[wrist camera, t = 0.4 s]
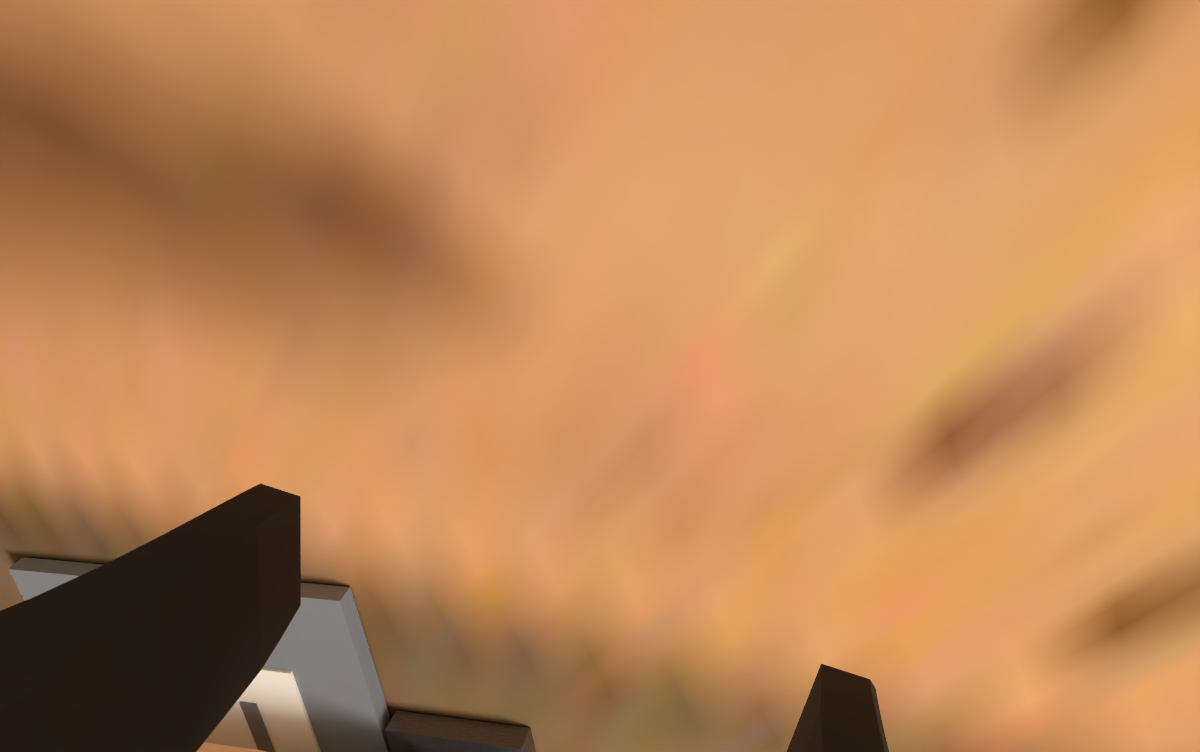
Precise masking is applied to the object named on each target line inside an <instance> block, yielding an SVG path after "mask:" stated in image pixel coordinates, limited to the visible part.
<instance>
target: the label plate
mask: <svg viewBox="0 0 1200 752" xmlns="http://www.w3.org/2000/svg"><path fill="white" fill-rule="evenodd" d="M100 566H102V564H91V563H80V562H69V561H58V560H47V559H37V558H26V557H22V558H21V559H20V560H19V561H17V562H16V563H15V564H14V565H13V566H11V567H10V568H9V571H10V573H11V575H12V577H13V579H14V581H15V583H16V585H17V587H18V589H19V591H20V593H21V595H22V597H23V599H24V601H26V600H28V599H31V598H33V597H35V596H38V595H40V594H42V593H44V592H46V591H48V590H51V589H53V588H55V587H57V586H59V585H61V584H63V583H66V582H68V581H70V580H72V579H74V578H76V577H79V576H81V575H83V574H85V573H87V572H89V571H92V570H94V569H96V568H98V567H100ZM390 721H391V718H390V714H389V711H388V708H387V705H386V701H385V698H384V695H383V692H382V689H381V685H380V682H379V679H378V676H377V672H376V669H375V666H374V663H373V659H372V656H371V653H370V650H369V646H368V643H367V640H366V637H365V633H364V630H363V627H362V624H361V621H360V617H359V614H358V611H357V608H356V604H355V601H354V598H353V595H352V591H351V588H350V587H343V586H333V585H322V584H311V583H301V605H300V607H299V609H298V610H297V612H296V614H295V616H294V617H293V619H292V621H291V622H290V624H289V626H288V627H287V629H286V631H285V633H284V634H283V636H282V638H281V639H280V641H279V643H278V644H277V646H276V647H275V649H274V650H273V652H272V654H271V655H270V657H269V658H268V660H267V662H266V663H265V665H264V666H263V668H262V669H261V671H260V672H259V673H258V675H257V676H256V677H255V679H254V680H253V681H252V682H251V684H250V685H249V686H248V688H247V689H246V690H245V691H244V693H243V694H242V695H241V696H240V698H239V699H238V700H237V701H236V703H235V704H234V705H233V707H232V708H231V709H230V710H229V712H228V713H227V714H226V715H225V717H224V718H223V719H222V720H221V722H220V723H219V724H218V725H217V727H216V728H215V729H214V730H213V732H212V733H211V734H210V735H209V737H208V738H207V739H206V740H205V742H208V743H214V744H221V745H227V746H234V747H241V748H247V749H254V750H260V751H267V752H391V748H390V745H389V742H388V739H387V736H386V733H385V729H386V727H387V726H388V724H389V722H390Z"/></svg>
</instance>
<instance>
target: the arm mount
mask: <svg viewBox="0 0 1200 752" xmlns="http://www.w3.org/2000/svg"><path fill="white" fill-rule="evenodd" d="M385 733H386V736H387V739H388V742H389V745H390V748H391V752H535V747H534V743H533V738H532V734H531V729H530V728H528V727H520V726H513V725H505V724H498V723H490V722H482V721H475V720H467V719H459V718H452V717H444V716H437V715H429V714H421V713H414V712H406V711H398V710H396V712H395V714H394V715H393V717H392V719H391V721H390V722H389V724H388V726H387V727H386V729H385Z"/></svg>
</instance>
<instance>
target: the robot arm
mask: <svg viewBox="0 0 1200 752" xmlns="http://www.w3.org/2000/svg"><path fill="white" fill-rule="evenodd" d="M300 605H301V570H300V496H297V495H294V494H291V493H288V492H285V491H281V490H278V489H275V488H272V487H269V486H266V485H263V484H259V485H257V486H255V487H253V488H251V489H249V490H247V491H245V492H243V493H241V494H239V495H237V496H235V497H233V498H232V499H230V500H228V501H226V502H224V503H222V504H220V505H218V506H217V507H215V508H213V509H211V510H209V511H207V512H205V513H203V514H202V515H200V516H198V517H196V518H194V519H192V520H190V521H188V522H186V523H185V524H183V525H181V526H179V527H177V528H175V529H173V530H171V531H169V532H168V533H166V534H164V535H162V536H160V537H158V538H156V539H154V540H152V541H150V542H148V543H146V544H144V545H142V546H140V547H138V548H136V549H135V550H133V551H131V552H129V553H127V554H125V555H123V556H121V557H119V558H117V559H115V560H113V561H111V562H109V563H107V564H104V565H102V566H100V567H98V568H96V569H94V570H92V571H89V572H87V573H85V574H83V575H81V576H79V577H76V578H74V579H72V580H70V581H68V582H66V583H63V584H61V585H59V586H57V587H55V588H53V589H51V590H48V591H46V592H44V593H42V594H40V595H38V596H35V597H33V598H31V599H28V600H26V601H23V602H21V603H19V604H16V605H14V606H11V607H9V608H7V609H4V610H2V611H0V752H197V750H198V749H199V748H200V747H201V745H202V744H203V743H204V742H205V740H206V739H207V738H208V737H209V735H210V734H211V733H212V732H213V730H214V729H215V728H216V727H217V725H218V724H219V723H220V722H221V720H222V719H223V718H224V717H225V715H226V714H227V713H228V712H229V710H230V709H231V708H232V707H233V705H234V704H235V703H236V701H237V700H238V699H239V698H240V696H241V695H242V694H243V693H244V691H245V690H246V689H247V688H248V686H249V685H250V684H251V682H252V681H253V680H254V679H255V677H256V676H257V675H258V673H259V672H260V671H261V669H262V668H263V666H264V665H265V663H266V662H267V660H268V658H269V657H270V655H271V654H272V652H273V650H274V649H275V647H276V646H277V644H278V643H279V641H280V639H281V638H282V636H283V634H284V633H285V631H286V629H287V627H288V626H289V624H290V622H291V621H292V619H293V617H294V616H295V614H296V612H297V610H298V609H299V607H300ZM787 752H889V750H888V746H887V742H886V738H885V733H884V729H883V725H882V720H881V715H880V710H879V705H878V700H877V694H876V689H875V687H874V685H873V684H872V682H871V680H870V679H867V678H864V677H861V676H858V675H855V674H851V673H848V672H845V671H842V670H839V669H836V668H833V667H830V666H826V665H823V664H821V666H820V669H819V671H818V674H817V676H816V679H815V681H814V684H813V686H812V689H811V691H810V694H809V696H808V699H807V702H806V704H805V707H804V709H803V712H802V714H801V717H800V719H799V722H798V724H797V727H796V730H795V732H794V735H793V737H792V740H791V742H790V745H789V747H788V750H787Z"/></svg>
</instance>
